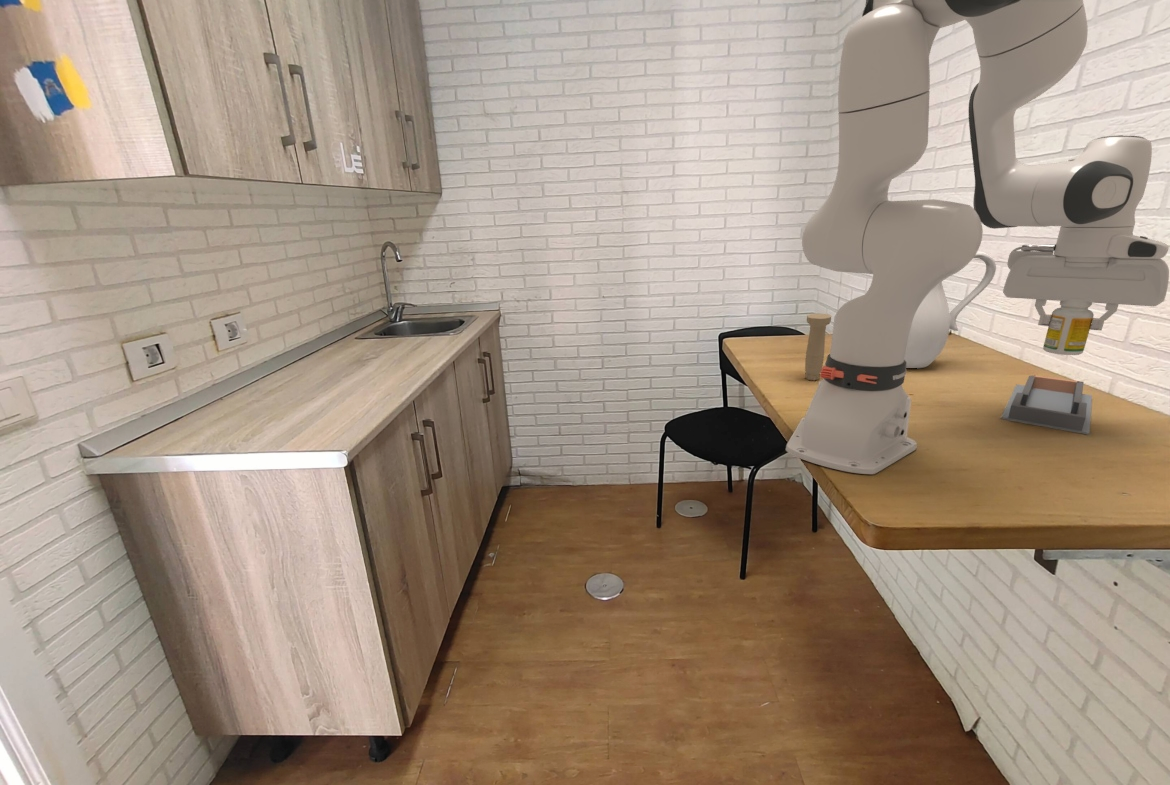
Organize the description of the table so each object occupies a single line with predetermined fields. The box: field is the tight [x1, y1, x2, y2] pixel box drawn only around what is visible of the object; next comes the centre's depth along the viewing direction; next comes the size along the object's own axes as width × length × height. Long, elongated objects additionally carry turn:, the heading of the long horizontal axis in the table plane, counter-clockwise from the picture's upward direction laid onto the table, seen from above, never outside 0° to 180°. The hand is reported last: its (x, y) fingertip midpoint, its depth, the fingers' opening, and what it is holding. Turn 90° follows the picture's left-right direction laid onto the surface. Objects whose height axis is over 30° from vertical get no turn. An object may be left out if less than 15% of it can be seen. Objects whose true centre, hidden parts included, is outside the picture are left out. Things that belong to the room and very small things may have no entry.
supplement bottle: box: [1042, 299, 1095, 356], centre depth 90 cm, size 5×5×10 cm
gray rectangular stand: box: [1000, 374, 1093, 436], centre depth 100 cm, size 24×12×3 cm, turn 137°
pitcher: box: [904, 250, 997, 369], centre depth 126 cm, size 24×17×28 cm
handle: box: [804, 312, 832, 381], centre depth 120 cm, size 5×6×15 cm
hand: (1068, 327), depth 90 cm, fingers closed on supplement bottle, 5 cm apart
